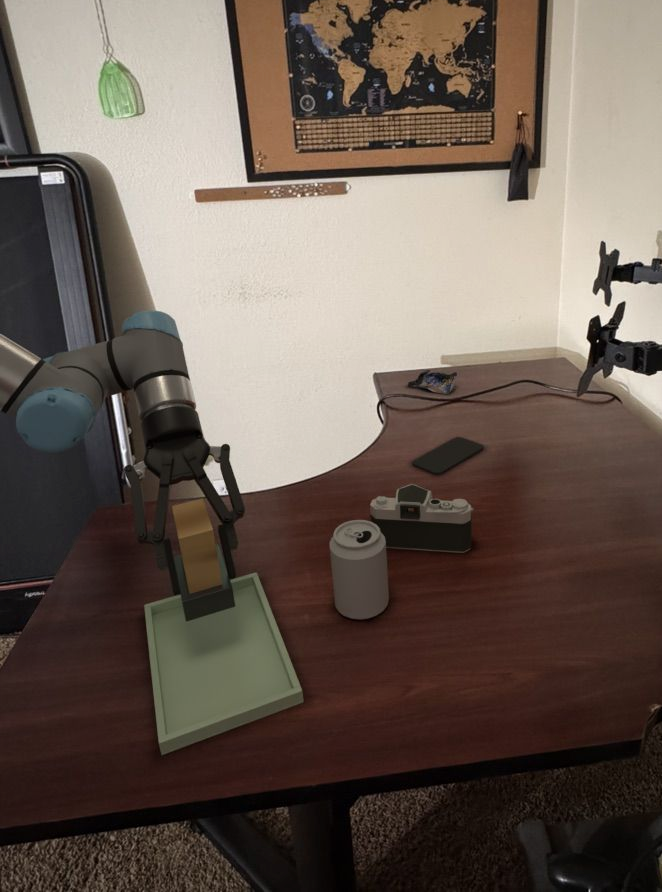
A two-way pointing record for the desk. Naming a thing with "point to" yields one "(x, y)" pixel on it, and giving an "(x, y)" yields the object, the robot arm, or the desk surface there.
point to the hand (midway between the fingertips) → (205, 585)
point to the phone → (447, 455)
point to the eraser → (200, 563)
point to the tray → (217, 666)
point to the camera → (423, 521)
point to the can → (359, 569)
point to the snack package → (434, 381)
